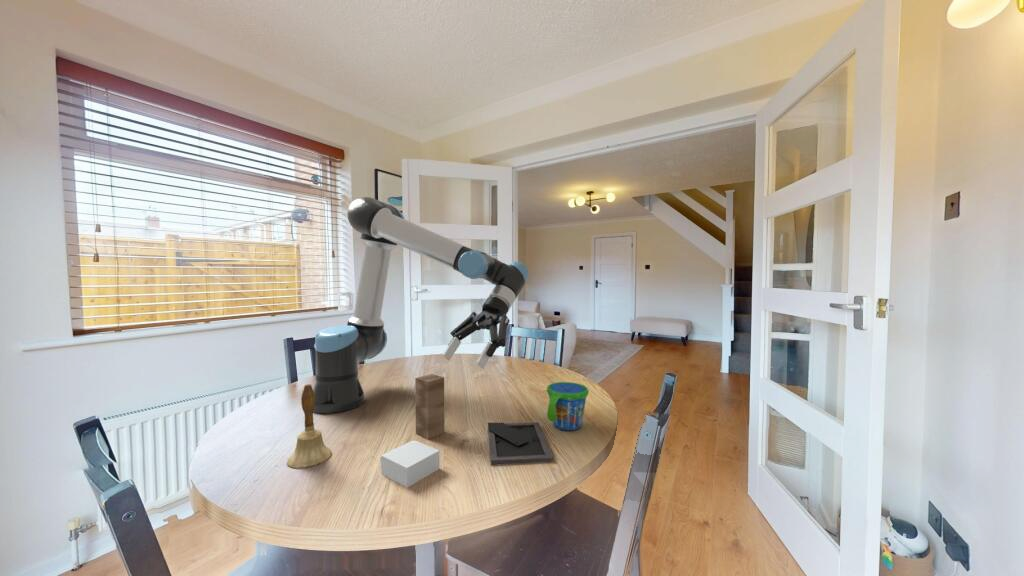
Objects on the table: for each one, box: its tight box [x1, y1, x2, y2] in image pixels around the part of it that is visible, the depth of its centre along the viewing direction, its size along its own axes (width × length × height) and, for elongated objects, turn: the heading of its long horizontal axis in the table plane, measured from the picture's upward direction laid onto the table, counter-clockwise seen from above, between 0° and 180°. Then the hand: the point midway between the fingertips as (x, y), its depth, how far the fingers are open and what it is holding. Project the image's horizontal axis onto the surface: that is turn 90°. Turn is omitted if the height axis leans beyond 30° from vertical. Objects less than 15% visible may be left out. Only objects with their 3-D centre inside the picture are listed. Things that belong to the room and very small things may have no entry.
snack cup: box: [546, 381, 590, 431], centre depth 91 cm, size 16×10×10 cm
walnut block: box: [414, 373, 445, 441], centre depth 86 cm, size 5×5×14 cm
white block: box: [380, 439, 440, 489], centre depth 69 cm, size 8×8×4 cm
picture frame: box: [487, 421, 555, 466], centre depth 81 cm, size 13×2×18 cm
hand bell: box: [286, 383, 333, 469], centre depth 74 cm, size 8×8×16 cm
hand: (461, 361), depth 94 cm, fingers open, 13 cm apart
